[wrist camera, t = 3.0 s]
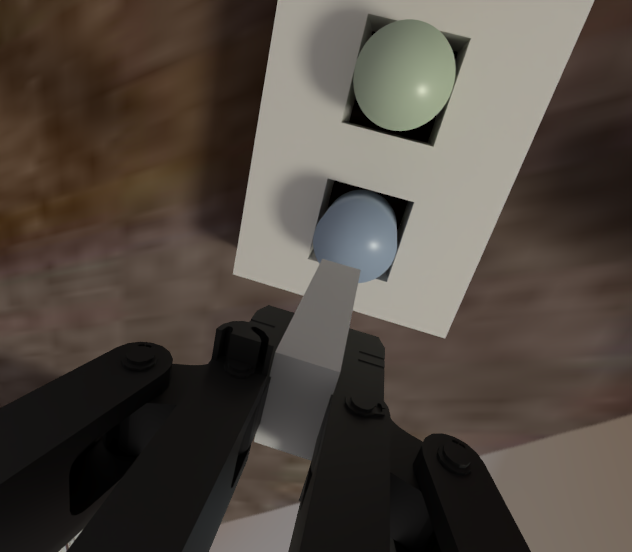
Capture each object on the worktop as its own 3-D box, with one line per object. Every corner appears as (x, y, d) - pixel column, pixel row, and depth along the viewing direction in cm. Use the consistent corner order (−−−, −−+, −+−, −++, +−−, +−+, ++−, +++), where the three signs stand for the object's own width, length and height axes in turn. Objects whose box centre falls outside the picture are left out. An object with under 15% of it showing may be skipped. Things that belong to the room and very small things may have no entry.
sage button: (373, 28, 20) (369, 8, 16) (457, 49, 20) (471, 32, 16) (351, 118, 22) (342, 117, 18) (427, 138, 22) (434, 141, 18)
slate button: (335, 181, 23) (324, 192, 20) (406, 200, 23) (408, 215, 19) (318, 248, 25) (304, 270, 21) (384, 267, 25) (382, 293, 21)
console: (344, -243, 18) (332, -333, 15) (646, -187, 17) (713, -269, 14) (253, 254, 29) (232, 274, 25) (438, 309, 28) (445, 338, 24)
